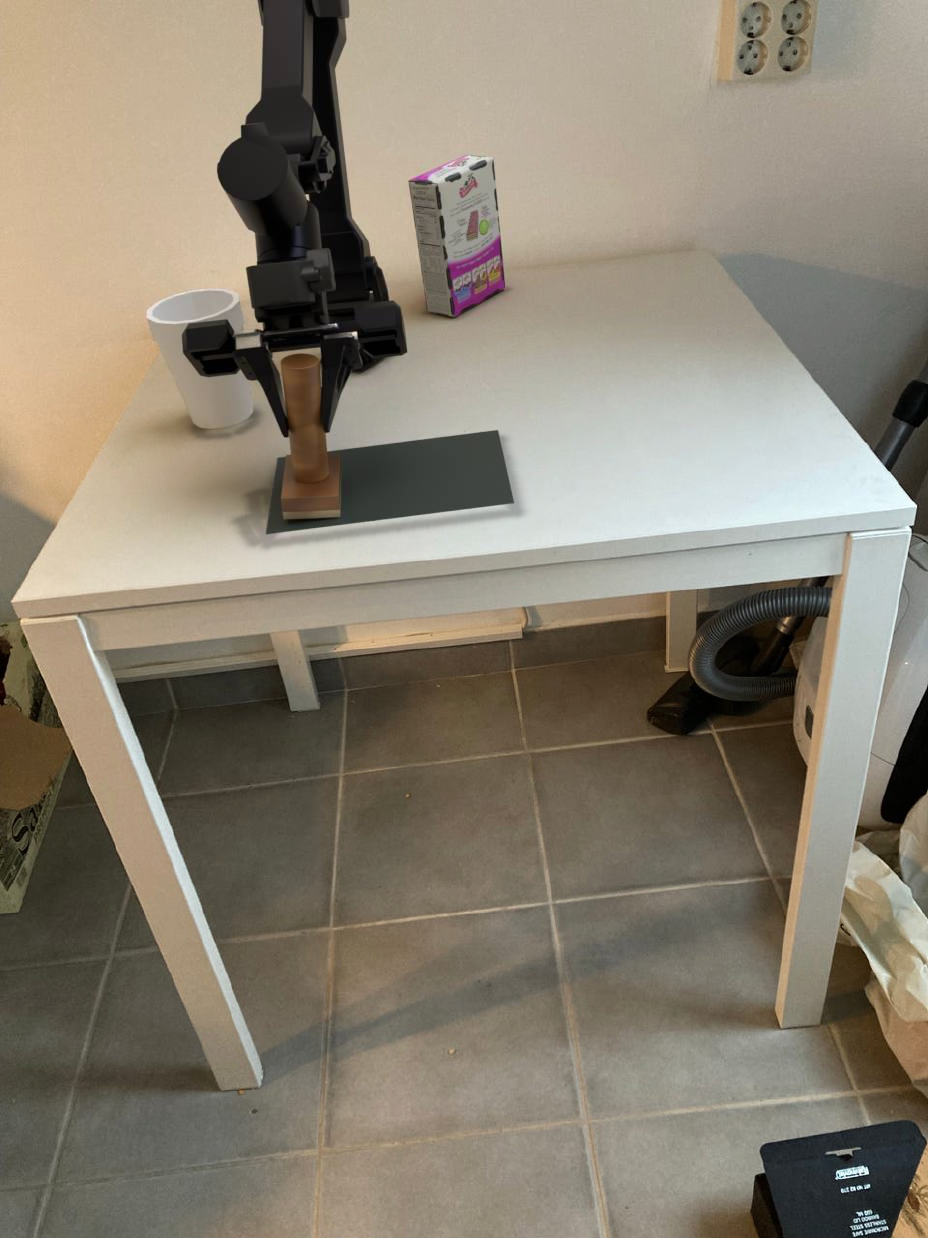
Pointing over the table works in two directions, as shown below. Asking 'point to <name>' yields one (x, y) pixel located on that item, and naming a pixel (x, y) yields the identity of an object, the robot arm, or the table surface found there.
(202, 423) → the foam cup
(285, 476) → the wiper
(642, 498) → the table surface
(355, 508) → the board
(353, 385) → the table surface
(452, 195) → the candy bar box
